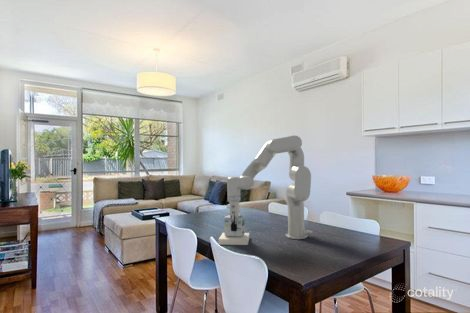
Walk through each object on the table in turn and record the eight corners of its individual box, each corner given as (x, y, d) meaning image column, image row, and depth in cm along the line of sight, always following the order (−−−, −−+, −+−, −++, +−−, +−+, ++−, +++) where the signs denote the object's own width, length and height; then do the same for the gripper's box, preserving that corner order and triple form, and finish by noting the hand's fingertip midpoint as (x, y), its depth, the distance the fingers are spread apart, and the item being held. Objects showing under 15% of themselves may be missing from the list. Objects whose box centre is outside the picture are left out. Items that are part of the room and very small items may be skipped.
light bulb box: (245, 233, 159) (244, 215, 159) (242, 237, 152) (242, 217, 153) (227, 233, 162) (227, 214, 162) (224, 236, 155) (223, 217, 155)
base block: (249, 237, 163) (249, 232, 163) (247, 245, 149) (247, 239, 149) (222, 237, 165) (222, 232, 165) (218, 244, 151) (218, 239, 151)
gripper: (238, 200, 148) (239, 233, 148) (241, 196, 166) (242, 225, 165) (225, 200, 149) (226, 233, 149) (229, 196, 167) (230, 225, 166)
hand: (234, 229), depth 157 cm, fingers closed on light bulb box, 7 cm apart
